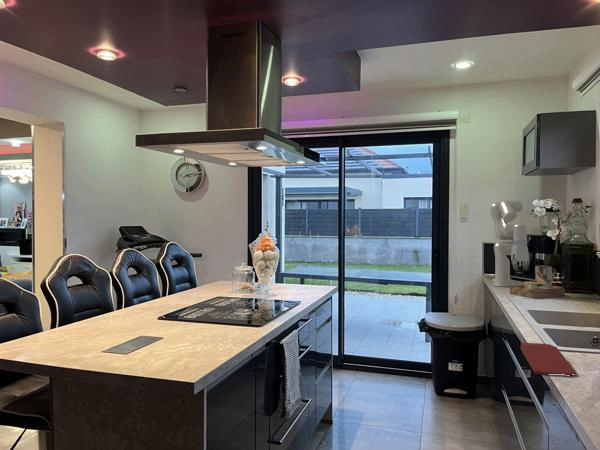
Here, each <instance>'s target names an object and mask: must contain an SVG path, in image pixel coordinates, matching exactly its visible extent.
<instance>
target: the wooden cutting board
mask: <svg viewBox="0 0 600 450" xmlns="http://www.w3.org/2000/svg"><path fill="white" fill-rule="evenodd" d="M524 285H525V284H521V285H519V284H518V285H512V286H510V287H509V294H510V295H514V296H519V297H523V298H527V297H528V298H529V299H532V298H533V299H540V298H541V299H543V298H552V297H554V296H555V297H563V296H564V297H565V296H566V295H565V287H563V286H557V285H553V286H551V285H546V284H537V289H527V288H524Z"/></svg>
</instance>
